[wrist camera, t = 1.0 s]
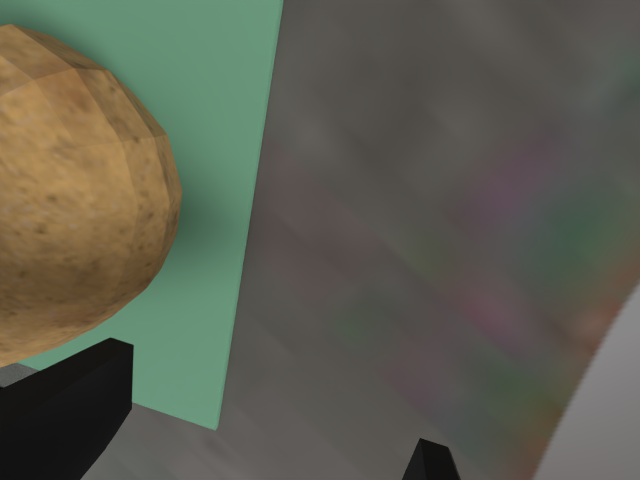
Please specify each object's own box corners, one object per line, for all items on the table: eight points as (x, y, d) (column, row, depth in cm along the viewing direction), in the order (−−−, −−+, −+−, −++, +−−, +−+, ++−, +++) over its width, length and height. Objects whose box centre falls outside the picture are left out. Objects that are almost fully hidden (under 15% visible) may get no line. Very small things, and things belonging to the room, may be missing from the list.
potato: (-43, 214, 21) (-281, 291, 14) (86, -29, 16) (-202, -113, 8) (106, 344, 22) (-40, 477, 15) (276, 163, 17) (171, 236, 10)
